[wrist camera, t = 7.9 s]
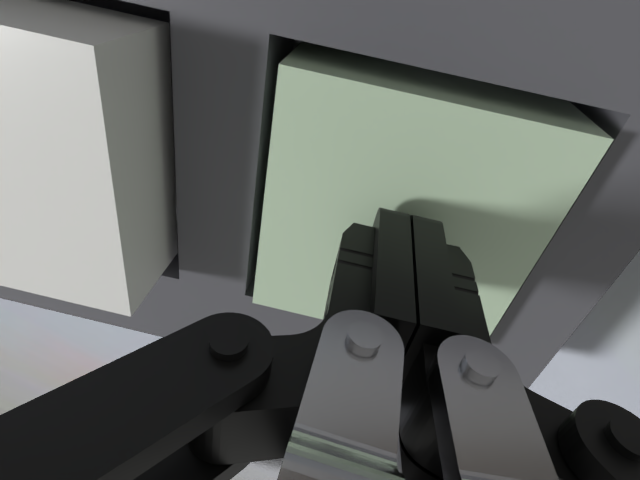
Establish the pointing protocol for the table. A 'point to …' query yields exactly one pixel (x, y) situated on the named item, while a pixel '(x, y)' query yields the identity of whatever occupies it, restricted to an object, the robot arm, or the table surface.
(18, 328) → the table surface
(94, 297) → the grey key
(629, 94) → the keypad
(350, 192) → the sage key
